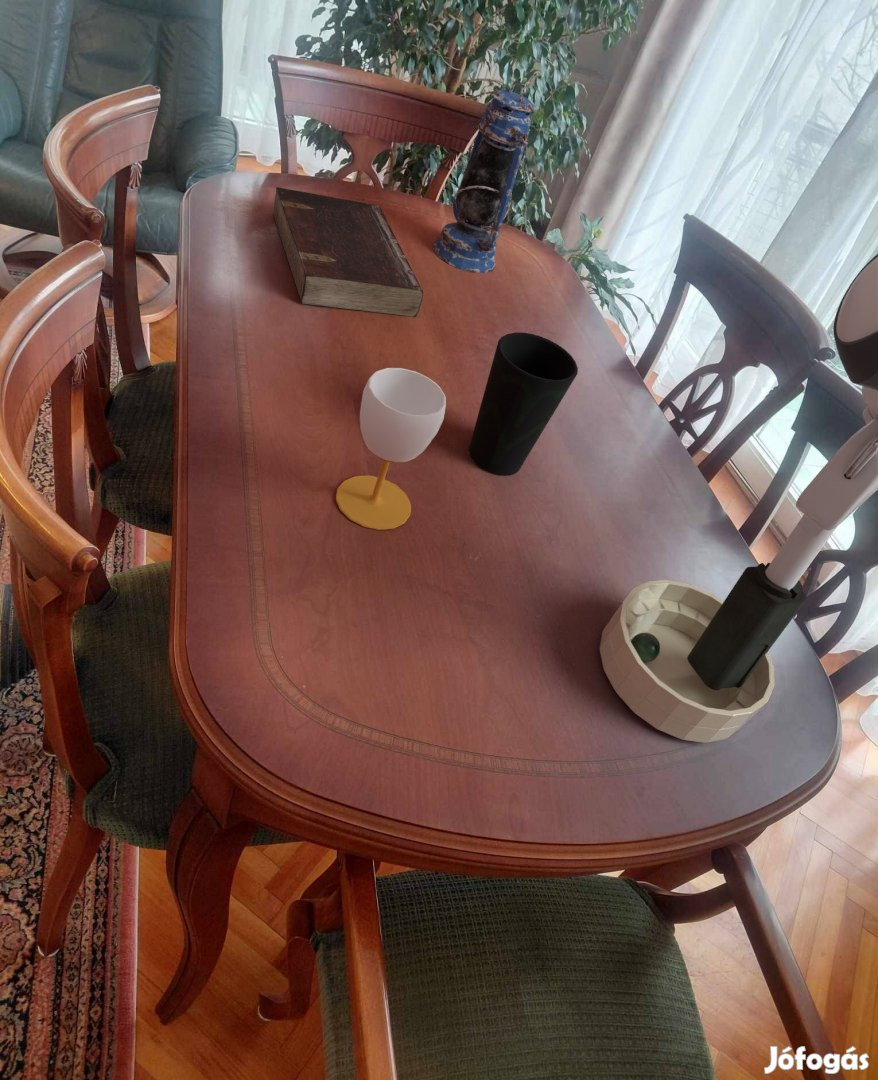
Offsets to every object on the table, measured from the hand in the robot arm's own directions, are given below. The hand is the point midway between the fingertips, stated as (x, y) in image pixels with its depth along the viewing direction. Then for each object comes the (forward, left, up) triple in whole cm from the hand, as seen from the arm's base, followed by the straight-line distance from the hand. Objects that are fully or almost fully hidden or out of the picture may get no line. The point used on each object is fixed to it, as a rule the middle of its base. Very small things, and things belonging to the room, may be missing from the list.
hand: (820, 520), depth 71 cm
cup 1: (+5, +40, -24) cm, 47 cm away
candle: (-2, -1, -21) cm, 21 cm away
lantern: (+79, +49, -24) cm, 96 cm away
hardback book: (+57, +66, -24) cm, 90 cm away
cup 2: (+23, +29, -24) cm, 44 cm away
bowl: (-2, +2, -24) cm, 24 cm away
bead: (-2, +7, -21) cm, 22 cm away
